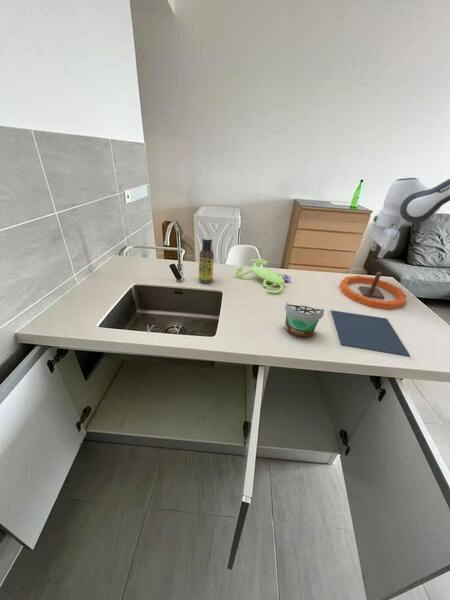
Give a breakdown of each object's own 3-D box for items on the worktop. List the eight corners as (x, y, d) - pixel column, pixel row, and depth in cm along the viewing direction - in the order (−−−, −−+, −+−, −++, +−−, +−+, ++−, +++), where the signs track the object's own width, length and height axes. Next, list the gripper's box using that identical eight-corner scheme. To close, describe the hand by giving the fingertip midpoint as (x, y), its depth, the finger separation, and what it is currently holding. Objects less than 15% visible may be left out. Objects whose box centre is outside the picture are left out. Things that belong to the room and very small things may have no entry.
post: (377, 290, 110) (386, 270, 105) (383, 299, 104) (393, 278, 98) (358, 288, 112) (366, 267, 106) (363, 296, 105) (372, 275, 100)
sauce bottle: (197, 283, 108) (196, 239, 98) (201, 277, 113) (201, 235, 103) (211, 285, 107) (212, 241, 97) (214, 279, 112) (215, 236, 102)
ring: (390, 284, 116) (392, 279, 115) (414, 313, 95) (417, 308, 94) (335, 277, 120) (337, 273, 119) (347, 303, 99) (349, 298, 98)
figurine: (255, 265, 128) (257, 255, 125) (299, 284, 112) (301, 273, 109) (230, 274, 117) (231, 263, 115) (274, 296, 101) (276, 284, 98)
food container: (279, 336, 79) (285, 311, 74) (280, 325, 84) (285, 301, 79) (319, 343, 77) (327, 318, 72) (317, 332, 82) (325, 307, 77)
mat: (386, 319, 91) (386, 318, 91) (409, 356, 74) (410, 355, 74) (330, 311, 94) (331, 310, 94) (341, 345, 77) (341, 344, 77)
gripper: (408, 229, 90) (393, 263, 97) (388, 217, 107) (376, 247, 114) (390, 227, 91) (376, 261, 98) (373, 215, 108) (362, 245, 115)
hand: (376, 253), depth 106 cm, fingers open, 8 cm apart
